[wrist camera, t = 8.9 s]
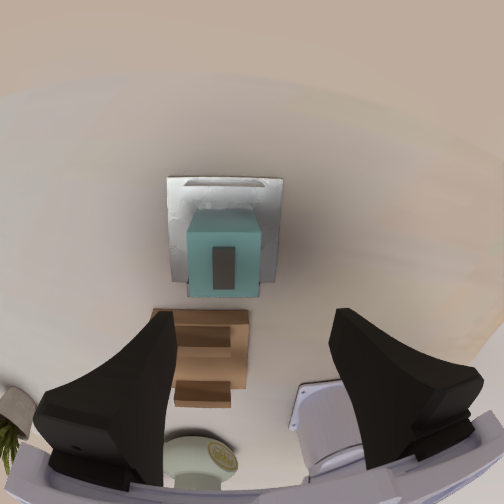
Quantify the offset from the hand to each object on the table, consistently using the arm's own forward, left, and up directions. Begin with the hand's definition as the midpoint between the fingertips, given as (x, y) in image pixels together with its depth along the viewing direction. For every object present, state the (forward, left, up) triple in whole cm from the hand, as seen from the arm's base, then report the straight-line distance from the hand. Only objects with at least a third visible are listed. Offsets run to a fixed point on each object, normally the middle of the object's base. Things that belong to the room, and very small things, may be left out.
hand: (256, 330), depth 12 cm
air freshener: (-30, +5, -11) cm, 32 cm away
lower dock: (+1, +1, -10) cm, 10 cm away
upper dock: (-10, +3, -10) cm, 15 cm away
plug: (+1, +1, -10) cm, 10 cm away
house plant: (-25, +32, -11) cm, 42 cm away
